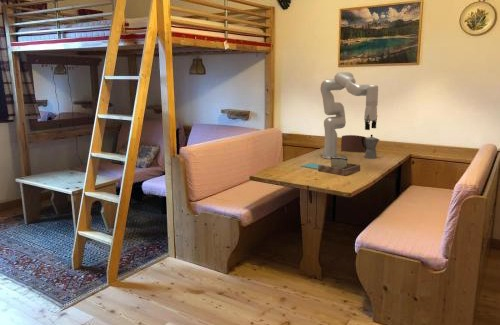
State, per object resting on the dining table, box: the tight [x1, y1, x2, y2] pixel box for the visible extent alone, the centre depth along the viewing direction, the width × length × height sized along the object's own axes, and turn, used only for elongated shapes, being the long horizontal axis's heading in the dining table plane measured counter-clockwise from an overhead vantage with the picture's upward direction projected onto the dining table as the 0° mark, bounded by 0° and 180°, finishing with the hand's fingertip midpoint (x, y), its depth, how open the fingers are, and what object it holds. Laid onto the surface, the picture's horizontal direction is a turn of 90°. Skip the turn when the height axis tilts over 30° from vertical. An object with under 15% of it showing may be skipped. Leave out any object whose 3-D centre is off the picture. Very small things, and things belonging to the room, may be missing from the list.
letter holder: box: [340, 134, 367, 154], centre depth 343 cm, size 10×20×14 cm, turn 65°
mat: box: [300, 162, 327, 170], centre depth 289 cm, size 16×12×1 cm
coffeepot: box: [361, 134, 380, 160], centre depth 315 cm, size 15×9×18 cm, turn 44°
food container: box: [329, 155, 349, 169], centre depth 274 cm, size 12×6×10 cm, turn 65°
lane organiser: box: [317, 162, 361, 177], centre depth 275 cm, size 21×18×4 cm
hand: (370, 129), depth 278 cm, fingers open, 9 cm apart
